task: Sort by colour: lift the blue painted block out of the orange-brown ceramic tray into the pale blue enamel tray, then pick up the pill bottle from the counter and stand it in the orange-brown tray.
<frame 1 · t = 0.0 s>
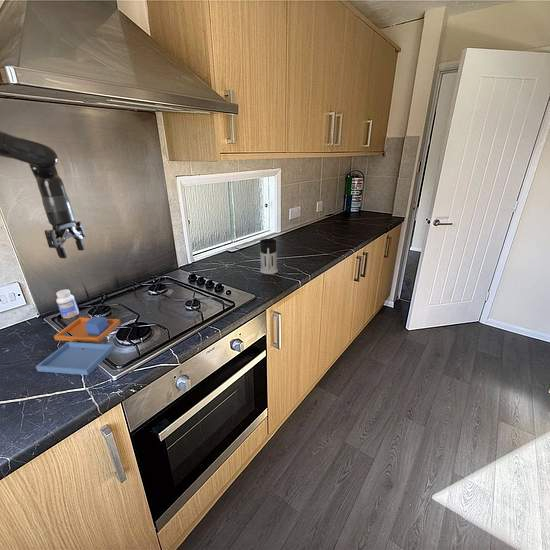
hand: (72, 253, 106), 21 cm above the worktop, tool pointing down, fingers open, 8 cm apart
blue block: (98, 331, 96), resting on amber tray
blue tray: (78, 360, 84), on the worktop
glass holder: (269, 273, 140), on the worktop
pill bottle: (71, 315, 108), on the worktop
amber tray: (89, 332, 97), on the worktop
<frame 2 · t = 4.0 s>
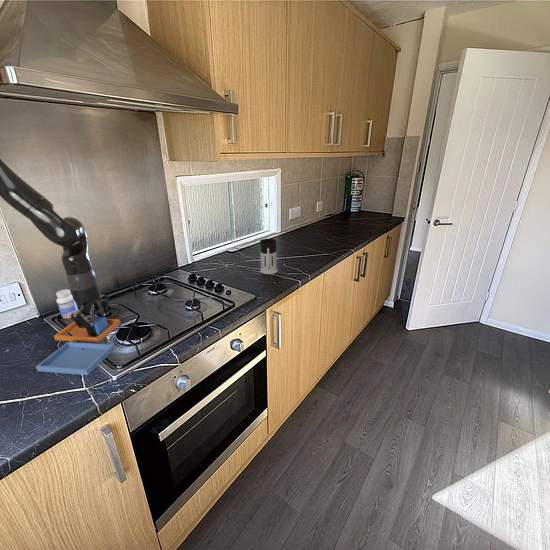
hand: (98, 331, 96), 1 cm above the worktop, tool pointing down, fingers closed on blue block, 4 cm apart
blue block: (98, 331, 96), resting on amber tray, touching gripper
everything else where it was.
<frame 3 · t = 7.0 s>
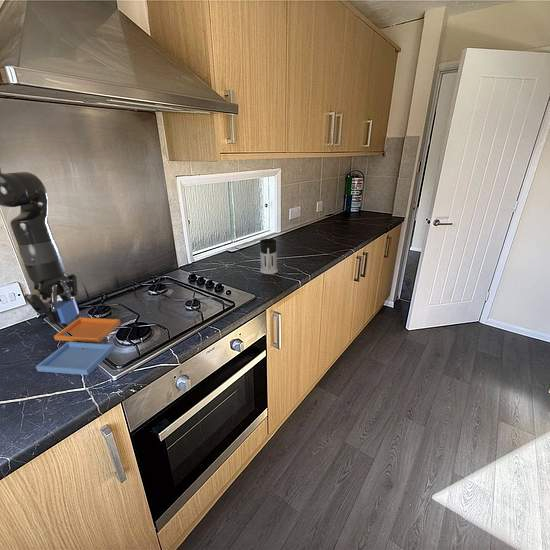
hand: (64, 317, 79), 14 cm above the worktop, tool pointing down, fingers closed on blue block, 4 cm apart
blue block: (64, 318, 79), point 14 cm above the worktop, touching gripper
everything else where it was.
when the fingers open (1 cm above the worktop, at t = 10.4 s): blue block stays where it is, resting on blue tray.
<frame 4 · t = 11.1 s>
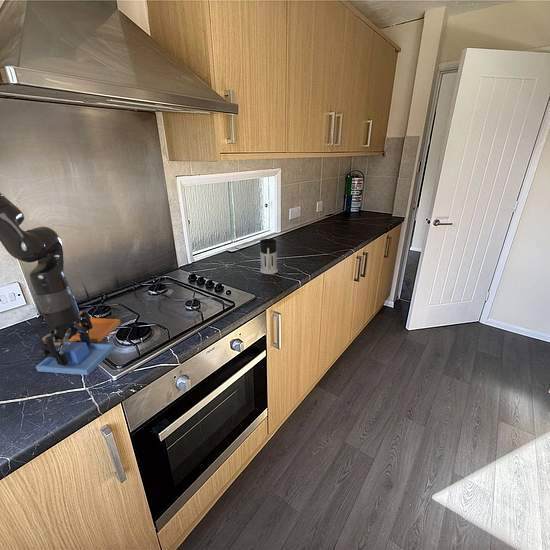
hand: (76, 354, 83), 2 cm above the worktop, tool pointing down, fingers open, 8 cm apart
blue block: (78, 359, 84), resting on blue tray
everything else where it was.
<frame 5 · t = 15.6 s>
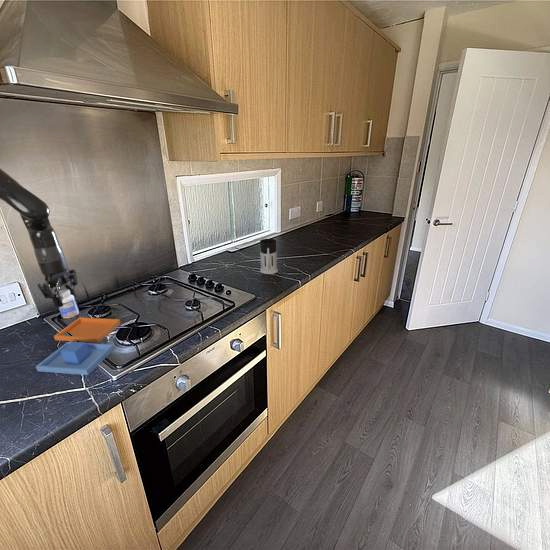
hand: (66, 302, 105), 5 cm above the worktop, tool pointing down, fingers closed on pill bottle, 5 cm apart
pill bottle: (71, 315, 108), on the worktop, touching gripper
everything else where it was.
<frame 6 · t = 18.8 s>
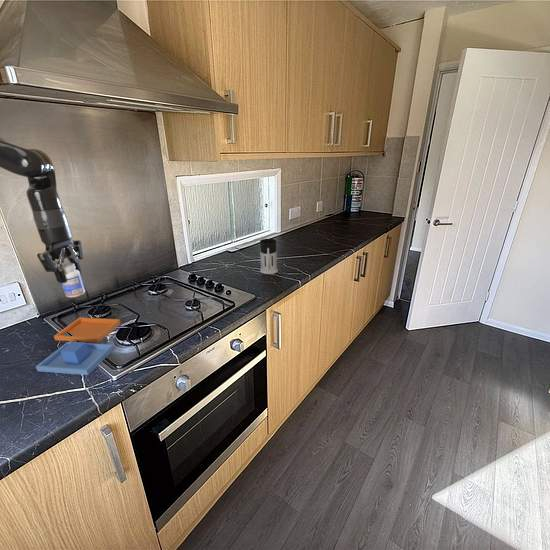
hand: (70, 278, 90), 19 cm above the worktop, tool pointing down, fingers closed on pill bottle, 5 cm apart
pill bottle: (76, 294, 93), point 13 cm above the worktop, touching gripper
everything else where it was.
when the fingers open (6 cm above the worktop, at t = 22.3 s): pill bottle stays where it is, resting on amber tray.
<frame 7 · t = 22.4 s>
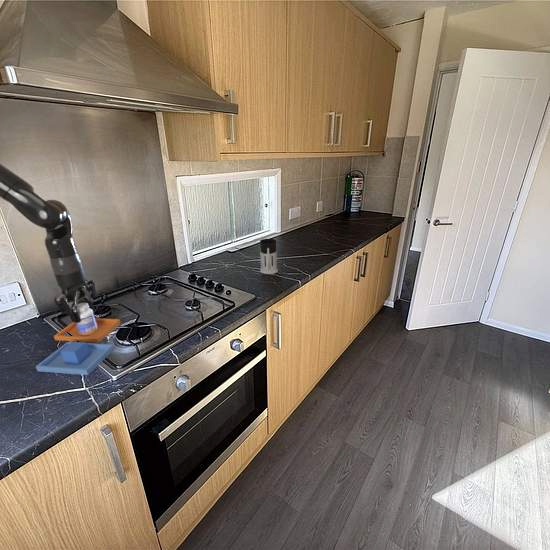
hand: (84, 316, 95), 6 cm above the worktop, tool pointing down, fingers open, 5 cm apart
pill bottle: (89, 331, 97), resting on amber tray
everything else where it was.
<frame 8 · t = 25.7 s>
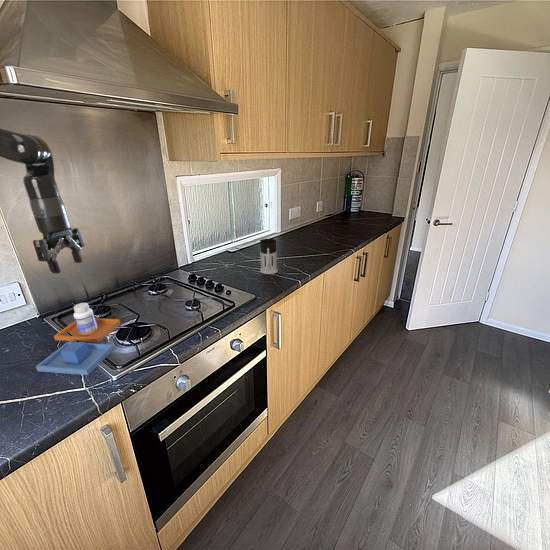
hand: (68, 267, 88), 23 cm above the worktop, tool pointing down, fingers open, 8 cm apart
nothing on the worktop moved.
at the end: blue block inside the target area in the blue tray (0.1 cm from its centre), point 0.4 cm above the blue tray's base; pill bottle inside the target area in the amber tray (0.0 cm from its centre), point 0.2 cm above the amber tray's base; pill bottle tilted 0° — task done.
